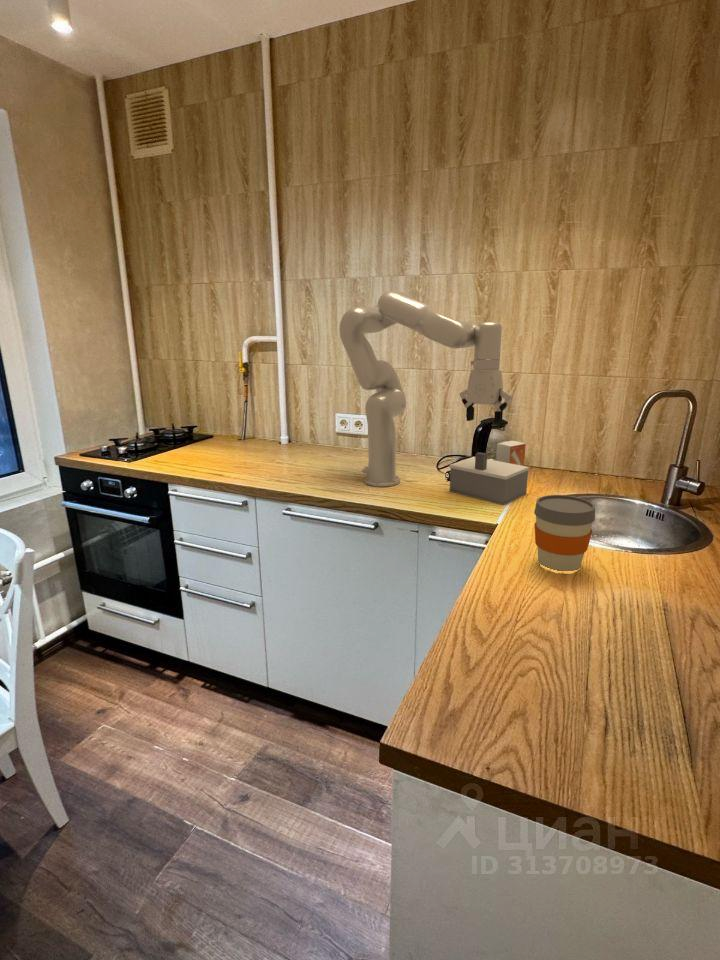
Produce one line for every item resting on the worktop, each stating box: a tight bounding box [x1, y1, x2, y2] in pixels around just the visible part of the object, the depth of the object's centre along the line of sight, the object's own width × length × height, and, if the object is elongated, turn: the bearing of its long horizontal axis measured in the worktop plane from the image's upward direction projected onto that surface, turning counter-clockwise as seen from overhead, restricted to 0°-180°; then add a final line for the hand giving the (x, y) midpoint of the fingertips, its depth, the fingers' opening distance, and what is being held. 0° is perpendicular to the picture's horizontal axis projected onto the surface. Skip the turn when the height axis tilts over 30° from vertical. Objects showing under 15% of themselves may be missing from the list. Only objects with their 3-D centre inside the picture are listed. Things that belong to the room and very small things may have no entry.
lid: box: [448, 451, 530, 480], centre depth 164 cm, size 20×14×6 cm
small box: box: [495, 439, 527, 466], centre depth 181 cm, size 8×6×13 cm
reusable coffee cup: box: [533, 494, 596, 571], centre depth 115 cm, size 13×13×15 cm
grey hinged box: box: [449, 468, 529, 506], centre depth 167 cm, size 20×14×8 cm
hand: (483, 422), depth 157 cm, fingers open, 9 cm apart
